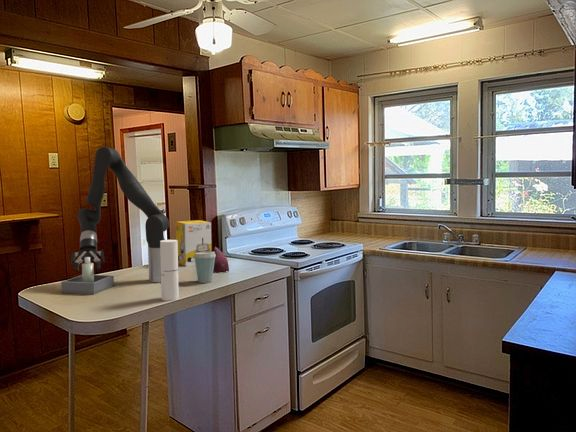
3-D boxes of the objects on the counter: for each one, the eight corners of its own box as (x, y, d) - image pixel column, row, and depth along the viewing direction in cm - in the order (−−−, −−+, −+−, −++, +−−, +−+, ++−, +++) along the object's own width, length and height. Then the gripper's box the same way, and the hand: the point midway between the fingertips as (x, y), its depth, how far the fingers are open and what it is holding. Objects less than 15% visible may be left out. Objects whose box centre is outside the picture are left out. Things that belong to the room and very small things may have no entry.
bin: (113, 285, 215) (113, 275, 214) (94, 294, 199) (93, 283, 199) (83, 284, 218) (83, 274, 217) (61, 292, 202) (61, 281, 201)
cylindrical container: (174, 301, 189) (172, 242, 187) (158, 300, 190) (157, 241, 188) (181, 296, 196) (180, 239, 194) (166, 295, 197) (165, 239, 195)
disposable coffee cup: (190, 283, 220) (189, 253, 219) (201, 278, 231) (201, 249, 229) (209, 284, 217) (208, 254, 216) (219, 280, 227) (219, 250, 226)
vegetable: (208, 277, 247) (200, 251, 245) (218, 271, 256) (210, 246, 255) (224, 274, 243) (216, 248, 241) (233, 268, 252) (225, 243, 250)
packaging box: (185, 266, 261) (184, 223, 259) (176, 262, 274) (175, 221, 272) (211, 263, 270) (211, 222, 267) (201, 259, 283) (200, 220, 281)
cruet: (96, 285, 210) (95, 256, 209) (90, 288, 206) (89, 258, 204) (86, 285, 211) (85, 256, 210) (80, 288, 206) (79, 258, 205)
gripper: (71, 238, 211) (69, 266, 201) (104, 236, 216) (103, 264, 206) (73, 247, 216) (71, 275, 207) (104, 246, 221) (104, 273, 211)
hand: (87, 270), depth 206 cm, fingers open, 8 cm apart
